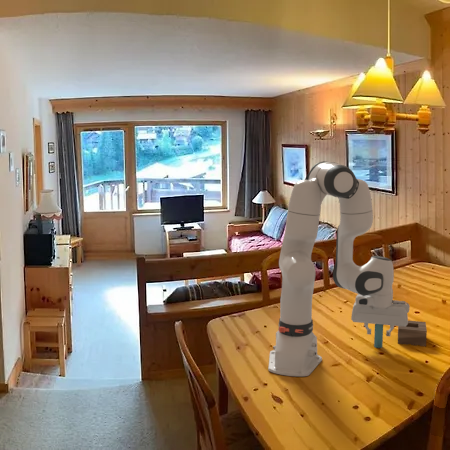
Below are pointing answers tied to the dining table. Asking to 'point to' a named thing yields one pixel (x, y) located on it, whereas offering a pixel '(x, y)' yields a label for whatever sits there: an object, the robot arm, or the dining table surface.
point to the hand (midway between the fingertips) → (378, 334)
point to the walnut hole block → (413, 333)
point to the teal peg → (378, 336)
